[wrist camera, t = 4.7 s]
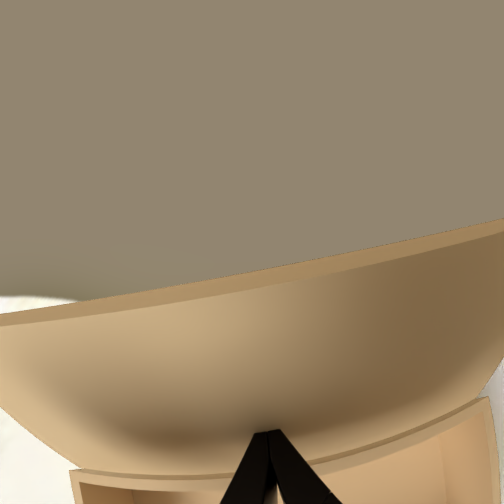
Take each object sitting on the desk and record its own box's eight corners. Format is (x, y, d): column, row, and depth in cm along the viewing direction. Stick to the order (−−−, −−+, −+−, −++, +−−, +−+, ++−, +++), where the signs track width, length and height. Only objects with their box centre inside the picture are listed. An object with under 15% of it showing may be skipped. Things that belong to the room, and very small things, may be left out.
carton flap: (564, 213, 5) (554, 205, 6) (-66, 331, 5) (-60, 322, 6) (475, 398, 11) (471, 390, 11) (79, 467, 11) (81, 459, 11)
